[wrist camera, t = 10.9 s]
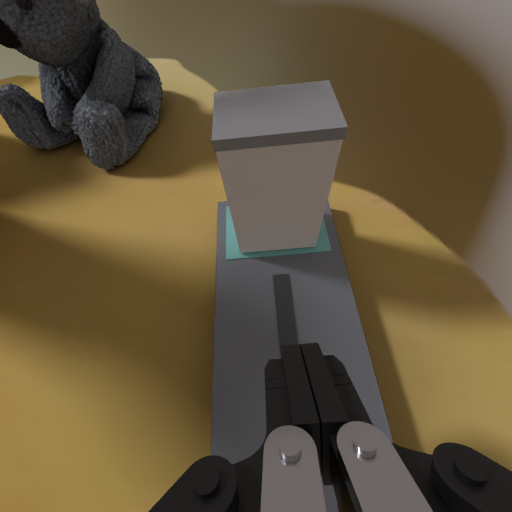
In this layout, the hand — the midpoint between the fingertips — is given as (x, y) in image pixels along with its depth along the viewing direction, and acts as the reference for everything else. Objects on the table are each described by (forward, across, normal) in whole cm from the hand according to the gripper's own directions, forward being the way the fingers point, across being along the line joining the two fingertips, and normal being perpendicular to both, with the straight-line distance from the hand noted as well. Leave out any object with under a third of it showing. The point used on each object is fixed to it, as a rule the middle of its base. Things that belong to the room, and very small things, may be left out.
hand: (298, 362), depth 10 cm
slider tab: (+12, 0, -4) cm, 12 cm away
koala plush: (+30, +20, -18) cm, 40 cm away
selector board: (+9, 0, +3) cm, 9 cm away
